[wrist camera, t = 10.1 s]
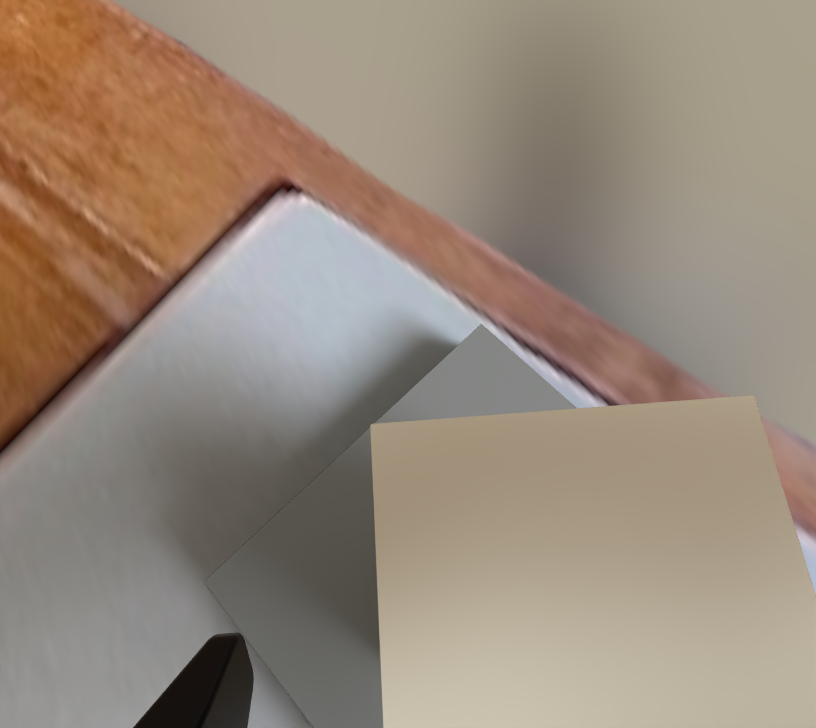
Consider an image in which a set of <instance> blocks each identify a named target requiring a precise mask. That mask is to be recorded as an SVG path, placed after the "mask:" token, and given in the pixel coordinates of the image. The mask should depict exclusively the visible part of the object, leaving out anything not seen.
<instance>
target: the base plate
mask: <svg viewBox="0 0 816 728" xmlns="http://www.w3.org/2000/svg"><path fill="white" fill-rule="evenodd" d="M565 409H577V408H576V407H575V406H574V405H573V404H572V403H571V402H569V401H568V400H567V399H566V398H565V397H564V396H563V395H561V394H560V393H559V392H558V391H557V390H556V389H555V388H553V387H552V386H551V385H550V384H549V383H548V382H547V381H546V380H544V379H543V378H542V377H541V376H540V375H539V374H538V373H536V372H535V371H534V370H533V369H532V368H531V367H530V366H529V365H527V364H526V363H525V362H524V361H523V360H522V359H521V358H519V357H518V356H517V355H516V354H515V353H514V352H513V351H511V350H510V349H509V348H508V347H507V346H506V345H505V344H504V343H502V342H501V341H500V340H499V339H498V338H497V337H496V336H494V335H493V334H492V333H491V332H490V331H489V330H488V329H487V328H485V327H484V326H483V325H482V324H481V325H480V326H478V327H477V328H476V329H475V330H474V331H473V332H472V333H471V334H470V335H469V336H468V337H467V338H466V339H464V340H463V341H462V342H461V343H460V344H459V345H458V346H457V347H456V348H455V349H454V350H453V351H452V352H450V353H449V354H448V355H447V356H446V357H445V358H444V359H443V360H442V361H441V362H440V363H439V364H438V365H437V366H435V367H434V368H433V369H432V370H431V371H430V372H429V373H428V374H427V375H426V376H425V377H424V378H423V379H421V380H420V381H419V382H418V383H417V384H416V385H415V386H414V387H413V388H412V389H411V390H410V391H409V392H407V393H406V394H405V395H404V396H403V397H402V398H401V399H400V400H399V401H398V402H397V403H396V404H395V405H393V406H392V407H391V408H390V409H389V410H388V411H387V412H386V413H385V414H384V415H383V416H382V417H381V418H379V419H378V420H377V421H376V422H375V423H374V424H378V423H391V422H405V421H418V420H431V419H445V418H458V417H471V416H485V415H498V414H511V413H525V412H538V411H552V410H565ZM204 584H205V585H206V586H207V587H208V589H209V590H210V591H211V593H212V594H213V595H214V597H215V598H216V599H217V601H218V602H219V603H220V605H221V606H222V607H223V609H224V610H225V611H226V613H227V614H228V615H229V617H230V618H231V619H232V621H233V622H234V623H235V625H236V626H237V627H238V629H239V630H240V631H241V632H242V634H243V635H244V636H245V638H246V639H247V640H248V642H249V643H250V644H251V646H252V647H253V648H254V650H255V651H256V652H257V654H258V655H259V656H260V658H261V659H262V660H263V662H264V663H265V664H266V666H267V667H268V668H269V670H270V671H271V672H272V674H273V675H274V676H275V677H276V679H277V680H278V681H279V683H280V684H281V685H282V687H283V688H284V689H285V691H286V692H287V693H288V695H289V696H290V697H291V699H292V700H293V701H294V703H295V704H296V705H297V707H298V708H299V709H300V711H301V712H302V713H303V715H304V716H305V717H306V718H307V720H308V721H309V722H310V724H311V725H312V726H313V728H383V705H382V682H381V659H380V636H379V613H378V590H377V567H376V544H375V520H374V497H373V474H372V451H371V428H369V429H368V430H367V431H365V432H364V433H363V434H362V435H361V436H360V437H359V438H358V439H357V440H356V441H355V442H354V443H353V444H351V445H350V446H349V447H348V448H347V449H346V450H345V451H344V452H343V453H342V454H341V455H340V456H339V457H337V458H336V459H335V460H334V461H333V462H332V463H331V464H330V465H329V466H328V467H327V468H326V469H325V470H323V471H322V472H321V473H320V474H319V475H318V476H317V477H316V478H315V479H314V480H313V481H312V482H311V483H309V484H308V485H307V486H306V487H305V488H304V489H303V490H302V491H301V492H300V493H299V494H298V495H297V496H295V497H294V498H293V499H292V500H291V501H290V502H289V503H288V504H287V505H286V506H285V507H284V508H283V509H282V510H280V511H279V512H278V513H277V514H276V515H275V516H274V517H273V518H272V519H271V520H270V521H269V522H268V523H266V524H265V525H264V526H263V527H262V528H261V529H260V530H259V531H258V532H257V533H256V534H255V535H254V536H252V537H251V538H250V539H249V540H248V541H247V542H246V543H245V544H244V545H243V546H242V547H241V548H240V549H238V550H237V551H236V552H235V553H234V554H233V555H232V556H231V557H230V558H229V559H228V560H227V561H226V562H224V563H223V564H222V565H221V566H220V567H219V568H218V569H217V570H216V571H215V572H214V573H213V574H212V575H210V576H209V577H208V578H207V579H206V580H205V581H204Z"/></svg>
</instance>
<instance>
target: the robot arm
mask: <svg viewBox="0 0 816 728" xmlns="http://www.w3.org/2000/svg"><path fill="white" fill-rule="evenodd" d="M252 691H253V669H252V665H251V662H250V658H249V655H248V651H247V647H246V644H245V640H244V638H243V636H242V635H241V634H240V633H227V634H217V635H214V636H212V637H211V638H210V639H209V640H208V641H207V642H206V643H205V644H204V646H203V647H202V648H201V649H200V650H199V651H198V653H197V654H196V655H195V656H194V657H193V658H192V660H191V661H190V662H189V663H188V664H187V665H186V667H185V668H184V669H183V670H182V671H181V672H180V674H179V675H178V676H177V677H176V678H175V679H174V681H173V682H172V683H171V684H170V685H169V686H168V688H167V689H166V690H165V691H164V692H163V693H162V695H161V696H160V697H159V698H158V699H157V700H156V702H155V703H154V704H153V705H152V706H151V707H150V709H149V710H148V711H147V712H146V713H145V714H144V716H143V717H142V718H141V719H140V720H139V721H138V723H137V724H136V725H135V726H134V727H133V728H247V726H248V719H249V712H250V705H251V698H252Z"/></svg>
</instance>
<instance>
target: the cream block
mask: <svg viewBox="0 0 816 728" xmlns="http://www.w3.org/2000/svg"><path fill="white" fill-rule="evenodd" d="M370 428H371V451H372V474H373V497H374V520H375V544H376V567H377V590H378V613H379V636H380V659H381V682H382V705H383V728H816V594H815V591H814V588H813V585H812V581H811V578H810V575H809V572H808V568H807V565H806V562H805V559H804V555H803V552H802V549H801V546H800V543H799V539H798V536H797V533H796V530H795V526H794V523H793V520H792V517H791V513H790V510H789V507H788V504H787V500H786V497H785V494H784V491H783V487H782V484H781V481H780V478H779V475H778V471H777V468H776V465H775V462H774V458H773V455H772V452H771V449H770V445H769V442H768V439H767V436H766V432H765V429H764V426H763V423H762V419H761V416H760V413H759V410H758V407H757V403H756V400H755V397H754V395H752V396H738V397H725V398H712V399H698V400H685V401H672V402H658V403H645V404H632V405H618V406H605V407H592V408H578V409H565V410H552V411H538V412H525V413H511V414H498V415H485V416H471V417H458V418H445V419H431V420H418V421H405V422H391V423H378V424H370Z"/></svg>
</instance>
